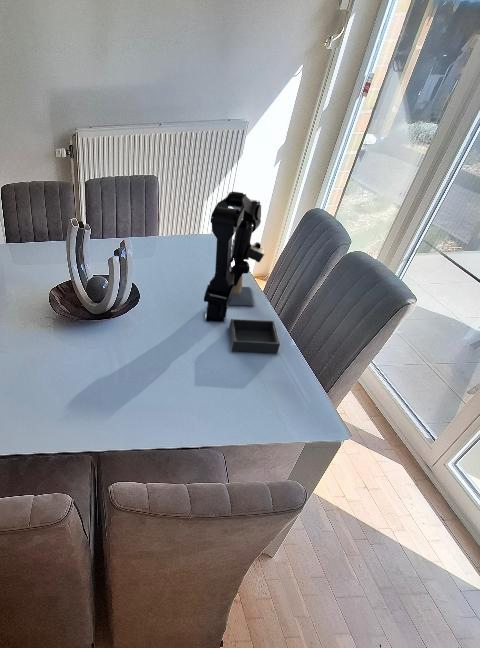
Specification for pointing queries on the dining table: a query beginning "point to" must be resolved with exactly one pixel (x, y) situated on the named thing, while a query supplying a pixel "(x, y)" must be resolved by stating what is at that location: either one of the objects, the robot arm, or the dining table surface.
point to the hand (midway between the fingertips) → (233, 281)
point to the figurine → (238, 287)
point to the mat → (241, 298)
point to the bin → (253, 336)
